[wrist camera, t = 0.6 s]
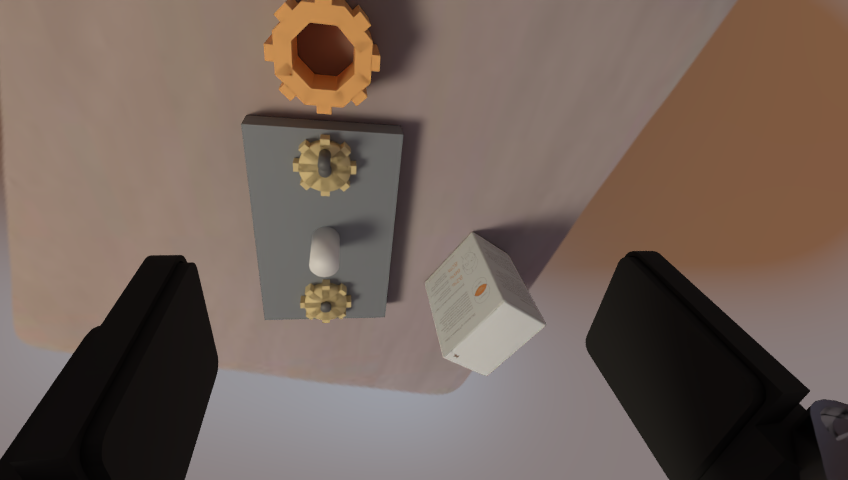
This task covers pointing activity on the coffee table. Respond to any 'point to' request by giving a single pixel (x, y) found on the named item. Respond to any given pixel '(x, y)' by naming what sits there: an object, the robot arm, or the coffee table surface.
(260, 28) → the coffee table surface
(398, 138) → the board
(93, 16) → the coffee table surface
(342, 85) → the gear
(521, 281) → the small box
